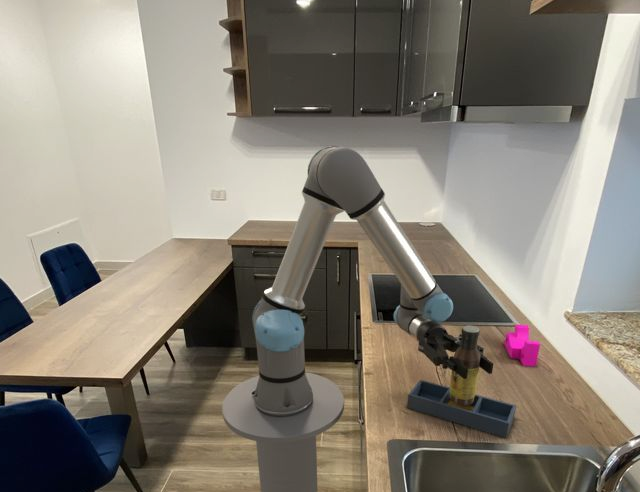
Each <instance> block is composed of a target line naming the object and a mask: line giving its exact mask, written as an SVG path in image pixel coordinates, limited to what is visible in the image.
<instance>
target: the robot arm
mask: <svg viewBox="0 0 640 492" xmlns="http://www.w3.org/2000/svg"><path fill="white" fill-rule="evenodd" d="M301 195H302V197H303V200H304V203H303V204H302V208H301V211H300V214H299V216H298V218H297V221H296V223H295V226H294V229H293V232H292V234H291V236H290V239H289V242H288V243H287V247H286V250H285V252H284V255H283V257H282V261H281V263H280V265H279V268H278V271H277V273H276V276H275V279H274V281H273V284H272V286H271V287H268V288H267V289H265V290H264V292H263V294H262V297H261V299H260V300H259V302H257V304H256V306H255V307H254V309H253V312H252V317H251V319H252V326H253V330H254V337H255V344H256V354H257V365H258V376H259V380H258V384H257V387H256V390H255V391H253V392H252V395H254V394H255V395H254V403H255V407H256V408H257V410H258V411H260V412H261V413H263V414H266V415H269V416H274V417H287V416H293V415H296V414H299V413H301V412H303V411H305V410H307V409H308V408H309V407H310V406H311V404H312V402H313V392H312V389H311V387H310V385H309V382H308V379H307V377H306V374H305V372H306V358H305V327H304V321H303V319H302V316H303V312H304V311H305V307H306V304H305V302H304V300H303V297H304V295H305V293H306V290H307V288H308V285H309V282H310V281H311V278H312V276H313V273H314V270H315V268H316V266H317V263H318V261H319V258H320V256H321V254H322V251H323V249H324V246H325V243H326V241H327V239H328V236H329V234H330V232H331V229H332V226H333V223H334V222H335V220H336V217H337V215H339V214H341V213H344V212H345V213H346V214H347V216H348V218H349V219H350V220H355V221H356V222H358V224H359V225H360V227H361V228H362V230H363V231H364V233H365V234H366V236H367V237H368V238H369V240H370V241H371V243H372V244H373V245H374V247H375V248H376V250H377V251H378V253H379V255H381V257H382V258H383V260H384V261H385V263H386V264H387V265H388V266H389V269H390V270H391V271H392V273H393V274H394V275H395V277H396V278H397V280H398V281H399V283H400V302H399V305H398V306H397V307H396V308H395V310H394V312H393V321H394V322H395V325H397V326H398V327H399V328H400V329H401V330H402V331H404V332H405V333H407V334H408V335H409V336H410V337H411V338H413V339H414V340H415V341H416V342H417V344H418V346H417V351H418V352H420V353H421V354H423V355H424V356H425V357H426V358H427V359H428V360H429V361H430V362H431V363H432V364H433V365H434V366H436V367H440V366H441V365H442V369H444V370H448V369H449V370H451V372H452V371H453V370H454V371H455V372H456V373H457V374H458V375H460V376H461V377H462V378H463V379H467V374H468V368H467V367H466V366H465V365H463V364H462V363H461V362H459V361H458V360H457V359H456V358H454V355H451V356H449V354H448V352H451V353H455V351H456V350H457V349H458V348H459V346H460V345H461V339H462V333H461V334H460V333H459V335H458V336H453V335H452V334H449V333H448V331H447V329H446V328H445V327H444V326H443V325H442V324H440V323H442V322H444V321H447V319H449V318H450V317H451V315H452V313H453V310H454V303H453V300H452V299H451V298H450V297H449V295H448V294H446V293H445V292H443V291H442V289H441V287H440V285H439V284H438V282H436V279H435V278H434V276H433V275H432V273H431V272H430V270H429V268H428V266H427V265H426V264H425V262H424V261H423V259H422V258H421V256H420V255H419V252H418V251H417V250H416V248H415V247H414V245H413V243H412V242H411V240H410V238H409V237H408V235H407V234H406V233H405V231H404V230H403V228H402V226H401V225H400V223H399V222H398V220H397V218H396V217H395V216H394V214H393V212H392V211H391V209H390V208H389V206H388V205H387V203H386V201H385V197H386V193H385V191H384V190H383V189H382V187H381V185H380V183H379V181H378V180H377V178H376V177H375V175H374V173H373V171H372V169H371V168H370V167H369V165H368V163H367V161H366V160H365V159H364V157H363V156H362V155H361V154H360V153H359V152H358V151H356V150H354V149H352V148H348V147H341V146H337V145H330V146H325V147H323V148H321V149H319V150H318V151H317V152H316V153H314V155H313V156H312V157H311V159H310V160H309V163H308V166H307V178H306V180H305V183H304V185H303V188H302V191H301ZM477 348H478V350H479V352H480V355H481V356H480V366H479V369H480V368H481V369H482V370H483V371H484V372H486V373H487V374H489V375H491V374H493V369H494V363H493V362H492V361H491V360H490V359H488V357H486V355H484V351H485V348H484V347H482V346H480V345H479V344H477ZM447 351H448V352H447Z"/></svg>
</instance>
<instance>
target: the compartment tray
mask: <svg viewBox="0 0 640 492" xmlns="http://www.w3.org/2000/svg"><path fill="white" fill-rule="evenodd" d="M449 395H450V386H446V385H442V384H439V383H435V382H431V381H428V380H423V379H420V380H419V381H418V382H417V383H416V384H415V386H414V387H413V388H412V389H411V390H410V391H409V393H408V394H407V407H406V408H407V409H409V410H412V411H413V410H414V411H417V412H419V413H423V414H426V415H430V416H432V417H437V418H439V419H442V420H446V421H450V422H452V423H456V424H459V425H463V426H466V427H468V428H473V429H475V430H478V431H482V432H486V433H488V434H493V435H496V436H499V437H501V438H505V439H507V438H508V435H509V432H510V430H511V427H512V425H513V422H514V418H515V414H516V410H517V404H513V403H509V402H505V401H501V400H498V399H494V398H491V397H486V396H483V395H480V394H477V393H475V396H474V401H473V403H472V404H470V405H465V406H462V405H458V404H456V403H454V402H452V401H451V399H450V396H449Z"/></svg>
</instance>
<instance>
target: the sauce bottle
mask: <svg viewBox="0 0 640 492" xmlns="http://www.w3.org/2000/svg"><path fill="white" fill-rule="evenodd" d="M480 330H481V329H480V328H479V327H478V326H475V325H465V326H464V325H463V326H462V328H461V334H462V339H461V345H460V346H459V348H458V349H457V350H456V351H455V352H454V354H453V357H454V358H456V359H457V360H458V361H459V362H461V363H462V364H463V365H465V366H466V367H467V368H468V374H467V379H463V378H462V377H461V376H460V375H458V374H457V373H456V372H455V371H454V370H453V371H452V370H451V377H450V385H449V388H450V395H449V396H450V399H451V401H452V402H454V403H456V404H458V405H462V406H465V405H470V404H472V403H473V401H474V396H475V394H477V393H476V392H477V386H478V379H479V372H480V367H479V366H480V356H481V355H480V352H479V350H478V348H477V345H478V342H479V341H478V340H479V337H480V332H481V331H480Z"/></svg>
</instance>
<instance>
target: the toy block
mask: <svg viewBox="0 0 640 492" xmlns="http://www.w3.org/2000/svg"><path fill="white" fill-rule="evenodd" d="M503 344H504V347H505V349H506V351H507V353H508V356H509V357H510V359H518V360H519V361H520V362H521V365H522V366H523V367H536V366H537V363H538V362H537V361H538V358H539V357H538V356H539V351H540V347H541V343H540V342H539V341H538V340H537V341H536V340H530V327H529V325H527V324H515V326H514V331H513V332H510V331H507V332H506V333H505V339H504V343H503Z"/></svg>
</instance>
